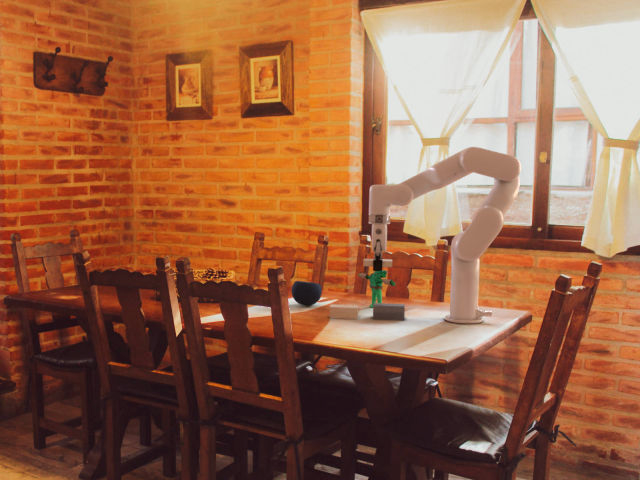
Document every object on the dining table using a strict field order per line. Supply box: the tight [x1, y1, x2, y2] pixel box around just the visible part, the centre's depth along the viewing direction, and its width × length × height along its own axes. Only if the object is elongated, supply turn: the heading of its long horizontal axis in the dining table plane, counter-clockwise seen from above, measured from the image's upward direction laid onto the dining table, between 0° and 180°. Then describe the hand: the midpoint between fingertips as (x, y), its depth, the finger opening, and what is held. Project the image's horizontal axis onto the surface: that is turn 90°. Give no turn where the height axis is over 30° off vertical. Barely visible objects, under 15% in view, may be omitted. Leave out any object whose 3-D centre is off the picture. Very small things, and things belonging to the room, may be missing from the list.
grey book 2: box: [372, 311, 405, 321], centre depth 269 cm, size 11×5×2 cm, turn 78°
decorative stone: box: [291, 280, 323, 307], centre depth 294 cm, size 12×12×10 cm
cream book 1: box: [329, 303, 359, 314], centre depth 272 cm, size 10×6×2 cm, turn 79°
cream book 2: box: [328, 312, 359, 320], centre depth 272 cm, size 10×6×2 cm, turn 78°
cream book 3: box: [363, 258, 393, 268], centre depth 267 cm, size 10×6×2 cm, turn 78°
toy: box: [358, 269, 396, 309], centre depth 288 cm, size 26×6×15 cm, turn 22°
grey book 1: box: [372, 302, 406, 313], centre depth 269 cm, size 11×5×2 cm, turn 78°
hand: (377, 269), depth 268 cm, fingers closed on cream book 3, 6 cm apart
